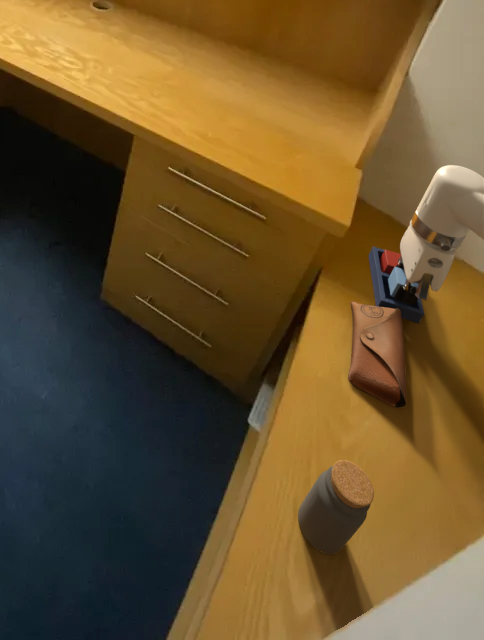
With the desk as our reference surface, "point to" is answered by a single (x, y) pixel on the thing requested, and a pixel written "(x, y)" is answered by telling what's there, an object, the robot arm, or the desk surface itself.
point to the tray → (383, 290)
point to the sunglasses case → (378, 353)
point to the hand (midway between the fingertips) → (402, 290)
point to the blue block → (397, 280)
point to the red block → (389, 261)
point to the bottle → (335, 506)
